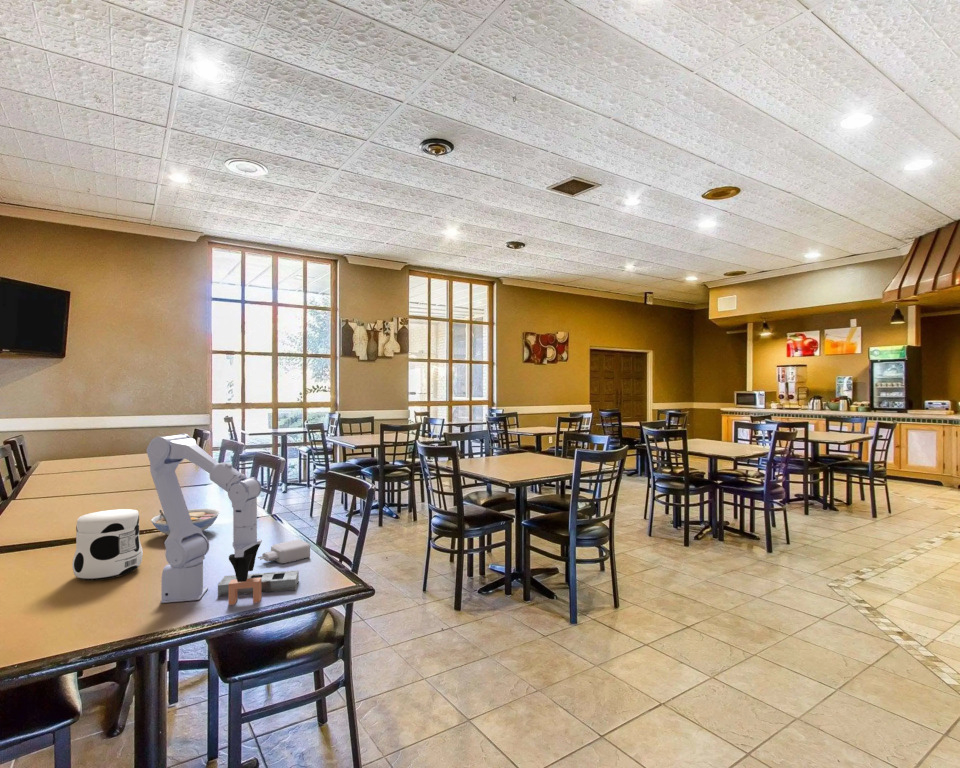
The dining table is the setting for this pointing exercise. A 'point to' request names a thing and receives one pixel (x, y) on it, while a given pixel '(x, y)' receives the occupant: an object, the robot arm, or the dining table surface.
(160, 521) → the ramen bowl
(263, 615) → the dining table surface
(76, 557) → the milk container
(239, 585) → the orange u-shaped block
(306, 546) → the charger
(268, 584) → the gray rectangular frame
